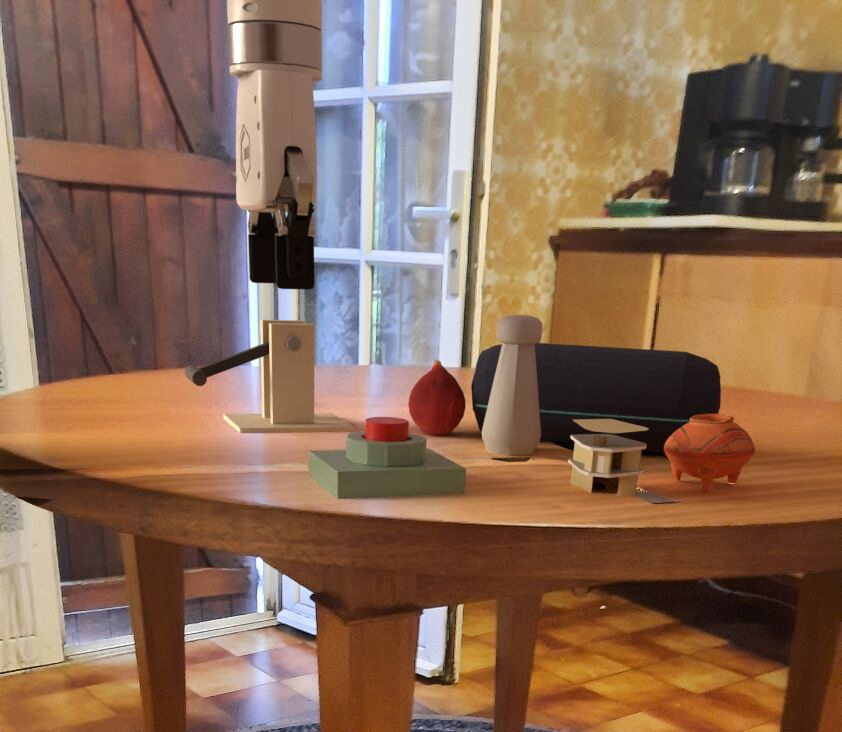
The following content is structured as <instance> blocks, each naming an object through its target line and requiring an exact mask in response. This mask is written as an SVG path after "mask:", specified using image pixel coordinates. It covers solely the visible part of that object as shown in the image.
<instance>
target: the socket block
mask: <svg viewBox="0 0 842 732" xmlns="http://www.w3.org/2000/svg"><path fill="white" fill-rule="evenodd" d="M345 438H346V440H345V441H346V442H345V449H331V450H330V449H329V450H327V449H326V450H325V449H324V450H309V451H308V476H309V477H310V478H311V479H313V480H314V481H315V482H316V483H318V484H319V485H320V486H321V487H322V488H323V489H325V491H327V492H328V493H330V494H331V495H332V496H333V497H335V498H336V499H339V500H340V499H367V498H395V497H397V498H398V497H399V498H400V497H423V496H425V497H427V496H450V495H451V496H453V495H455V496H456V495H465V494H466V479H467V468H466V467H464V466H463V465H461V464H458V463H457V462H455V461H453V460H451V459H450V458H448V457H446V456H444V455H442V454H440V453H438V452H436V451H434V450H432V449H431V448H427V443H428V442H427V441H428V439H427V437H424V436H422V435H420V434H417V433H411V432H408V441H402V442H384V441H373V440H368V439H365V430H361V431H354V432H351V433H349V434H347V435H346V437H345Z"/></svg>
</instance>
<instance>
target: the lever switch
mask: <svg viewBox="0 0 842 732" xmlns="http://www.w3.org/2000/svg"><path fill="white" fill-rule="evenodd" d="M266 355H269V342H266V343H264V344H261V343H260V344H259V345H255V346H253V347H251V348H248V349H245V350H242V351H239V352H237V353H234V354H231V355H229V356H226V357H224V358H220V359H218V360H216V361H213V362H211V363H210V362H209V363H207V364H205V365H202V366H199V367H197V366H196V365H194V364H188V365H187V366H186V367H185V369H184V376H185V377H186V378H187V379H188V380H189V381H190V382H192V383H193V384H194V385H195V386H197V387H203V386H205V385H206V384H207V381H208V378H210V377H213V376H215V375H218V374H221V373H223V372H226V371H229V370H231V369H234V368H236V367H239V366H242V365H244V364H247V363H250V362H252V361H255V360H258V359H261V357H263V356H266Z"/></svg>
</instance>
